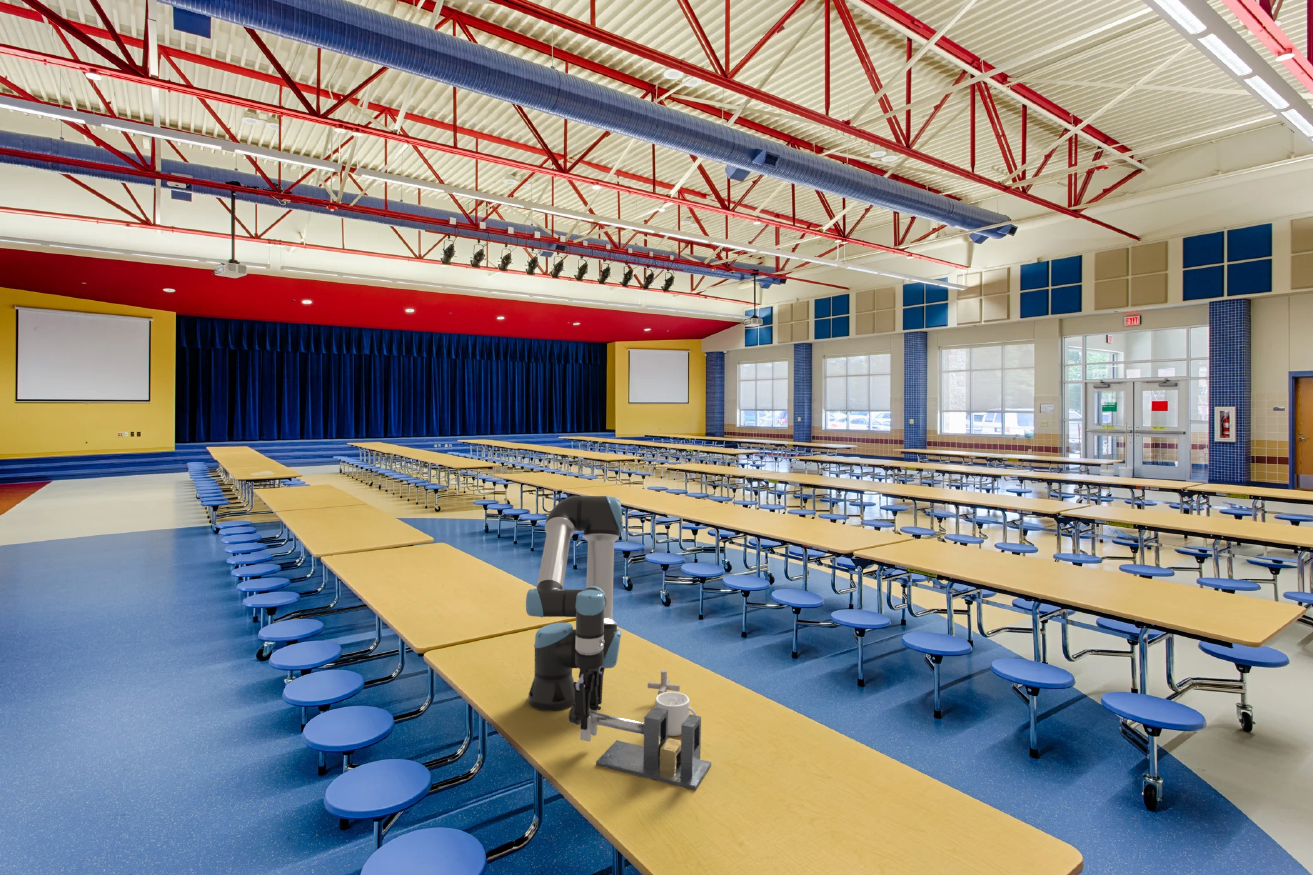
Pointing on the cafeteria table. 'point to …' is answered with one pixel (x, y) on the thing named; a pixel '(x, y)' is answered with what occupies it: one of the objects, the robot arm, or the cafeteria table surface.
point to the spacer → (670, 755)
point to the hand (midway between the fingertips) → (588, 736)
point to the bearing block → (648, 756)
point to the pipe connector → (663, 684)
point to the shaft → (609, 721)
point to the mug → (674, 710)
